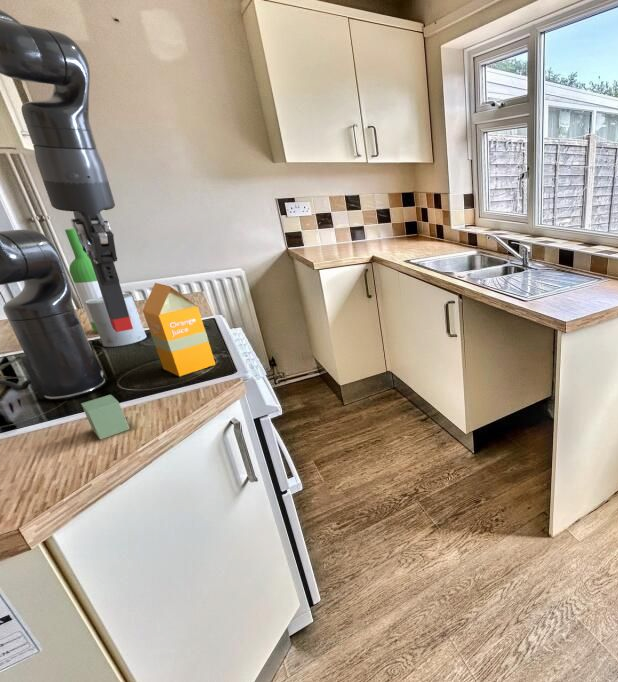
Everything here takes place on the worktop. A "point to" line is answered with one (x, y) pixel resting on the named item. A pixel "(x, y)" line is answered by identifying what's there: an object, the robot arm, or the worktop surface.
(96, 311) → the grey speckled cylinder
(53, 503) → the worktop surface
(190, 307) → the orange juice
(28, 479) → the worktop surface
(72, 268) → the wine bottle
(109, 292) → the marker
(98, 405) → the block
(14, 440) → the worktop surface
